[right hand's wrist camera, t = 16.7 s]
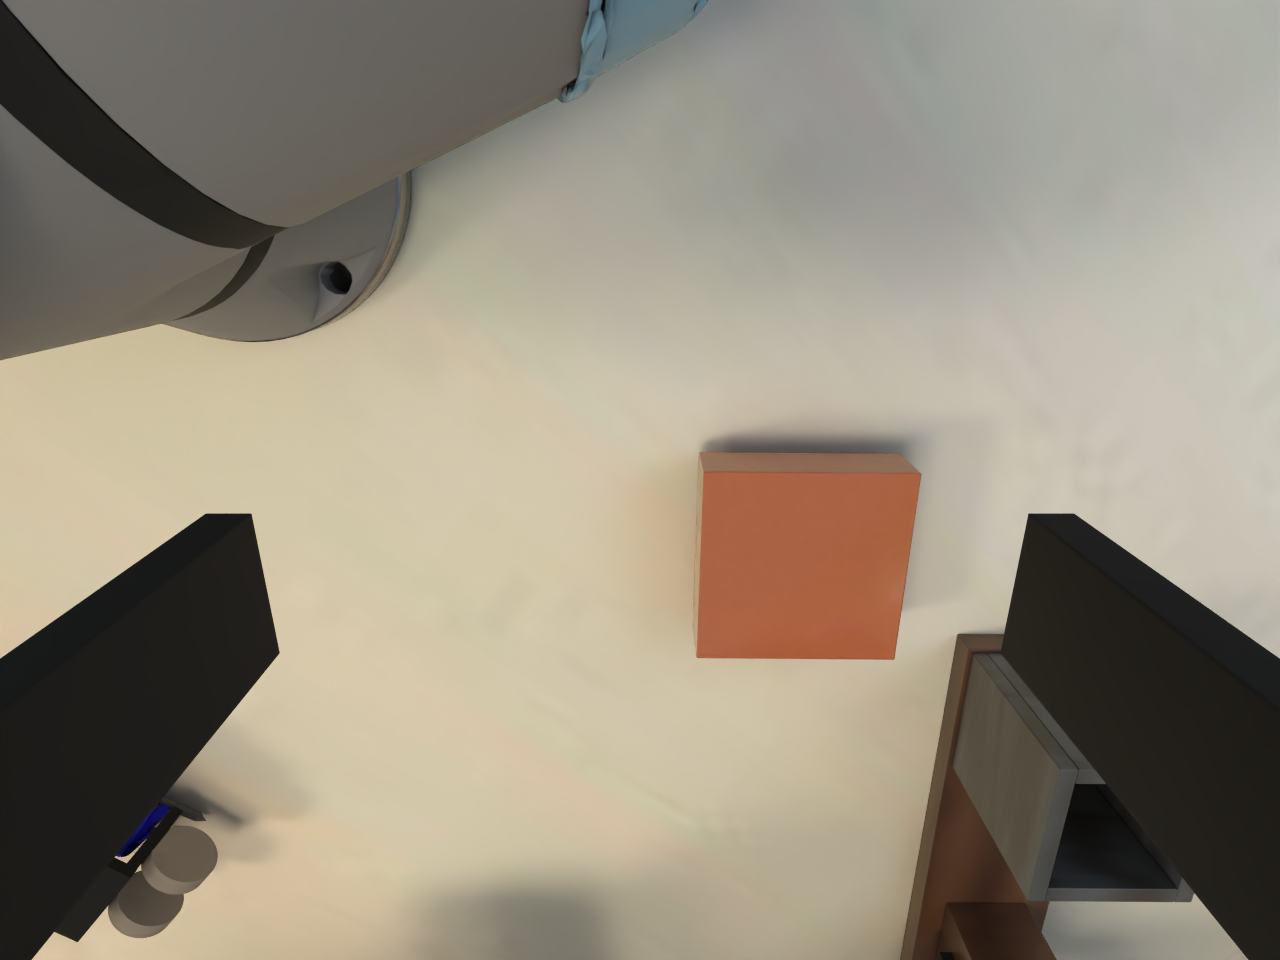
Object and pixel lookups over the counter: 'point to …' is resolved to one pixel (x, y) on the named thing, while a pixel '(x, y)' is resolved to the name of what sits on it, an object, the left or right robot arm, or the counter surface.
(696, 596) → the glossy orange tile
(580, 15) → the right robot arm
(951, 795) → the brown wooden desk organizer
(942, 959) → the left robot arm
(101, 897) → the figurine character
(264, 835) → the counter surface
